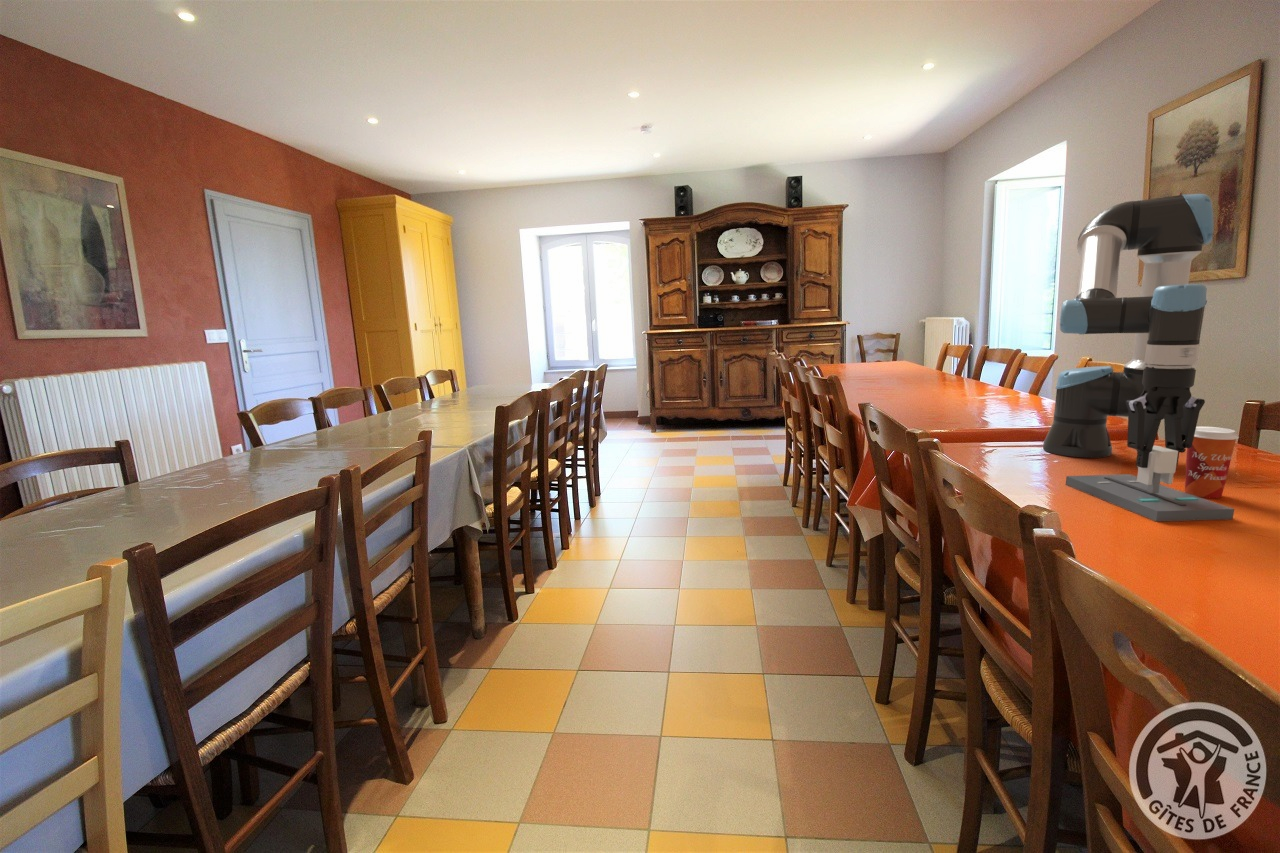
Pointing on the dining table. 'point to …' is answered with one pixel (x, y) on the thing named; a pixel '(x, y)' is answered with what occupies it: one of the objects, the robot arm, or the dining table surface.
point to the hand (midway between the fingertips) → (1154, 482)
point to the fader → (1162, 465)
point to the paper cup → (1209, 461)
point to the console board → (1149, 498)
